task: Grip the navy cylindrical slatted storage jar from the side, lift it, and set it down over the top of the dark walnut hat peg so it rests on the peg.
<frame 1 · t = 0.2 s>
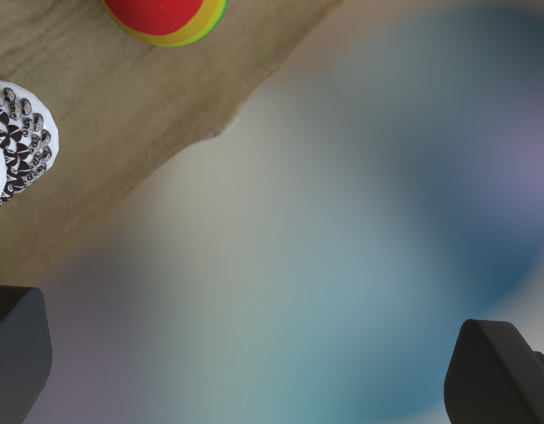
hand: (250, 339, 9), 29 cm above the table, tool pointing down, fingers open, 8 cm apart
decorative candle: (7, 131, 37), on the table
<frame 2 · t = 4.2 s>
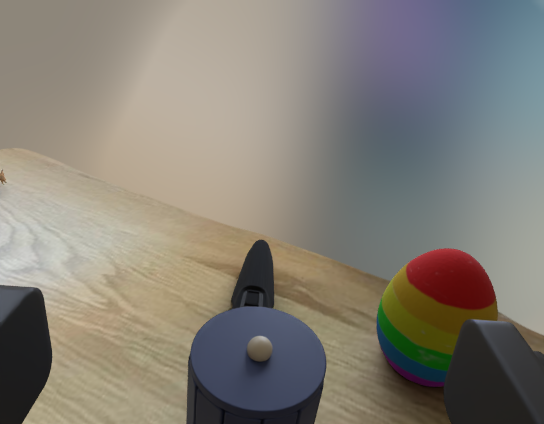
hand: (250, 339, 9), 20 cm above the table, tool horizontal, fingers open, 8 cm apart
electric trimmer: (247, 322, 38), on the table
decorative egg: (419, 360, 36), on the table
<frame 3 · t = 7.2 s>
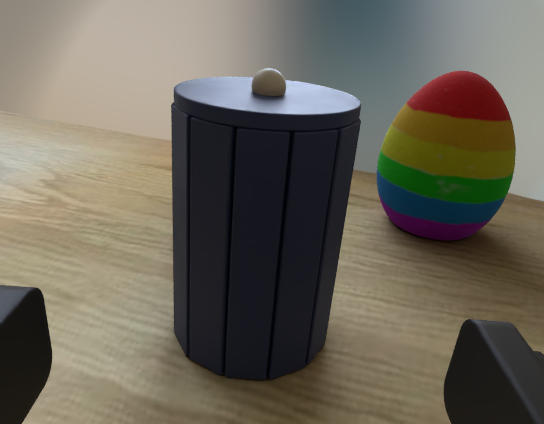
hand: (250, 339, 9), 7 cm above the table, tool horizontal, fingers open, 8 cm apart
slatted storage jar: (250, 324, 20), on the table
decorative egg: (428, 225, 31), on the table
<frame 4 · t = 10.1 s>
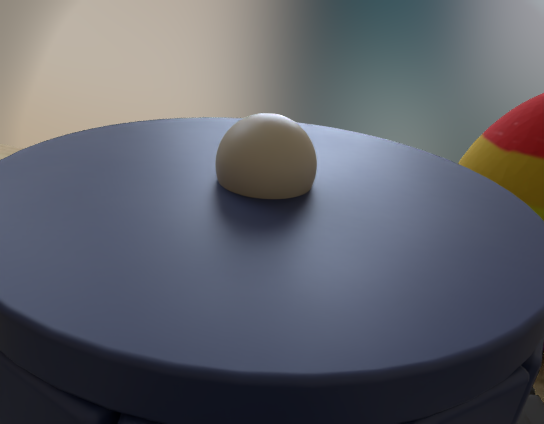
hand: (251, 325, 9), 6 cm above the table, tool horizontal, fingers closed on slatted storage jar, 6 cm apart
decorative egg: (507, 314, 21), on the table
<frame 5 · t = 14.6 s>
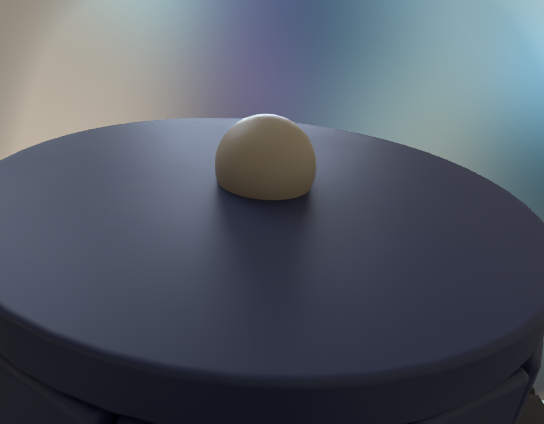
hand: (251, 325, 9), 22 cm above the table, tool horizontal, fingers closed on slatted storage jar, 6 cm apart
when the fingers open (9 cm above the table, at t = 19.3 s): slatted storage jar stays where it is, resting on hat peg.
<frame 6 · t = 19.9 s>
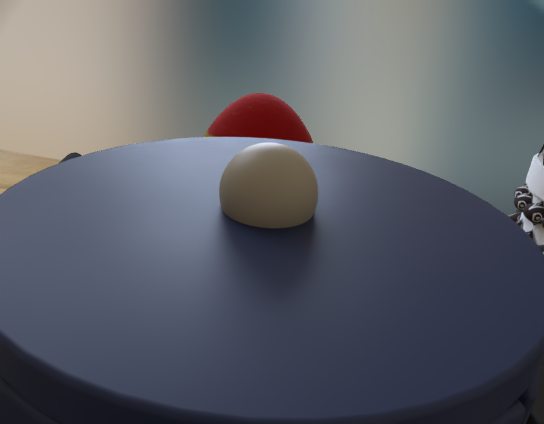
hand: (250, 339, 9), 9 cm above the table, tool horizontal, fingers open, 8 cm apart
decorative egg: (251, 249, 30), on the table
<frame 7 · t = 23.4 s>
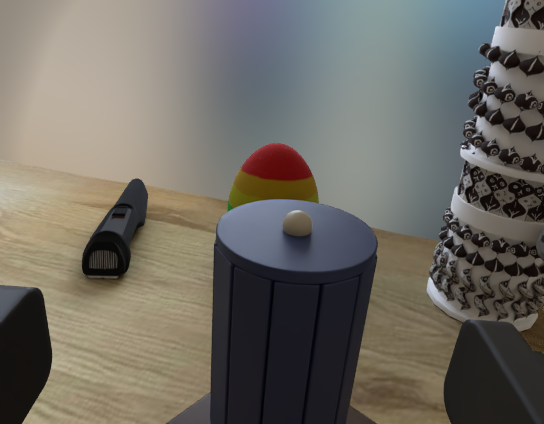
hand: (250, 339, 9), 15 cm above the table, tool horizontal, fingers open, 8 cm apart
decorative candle: (479, 301, 38), on the table
slatted storage jar: (277, 413, 22), point 2 cm above the table, touching hat peg
electric trimmer: (121, 237, 43), on the table
decorative egg: (269, 249, 43), on the table
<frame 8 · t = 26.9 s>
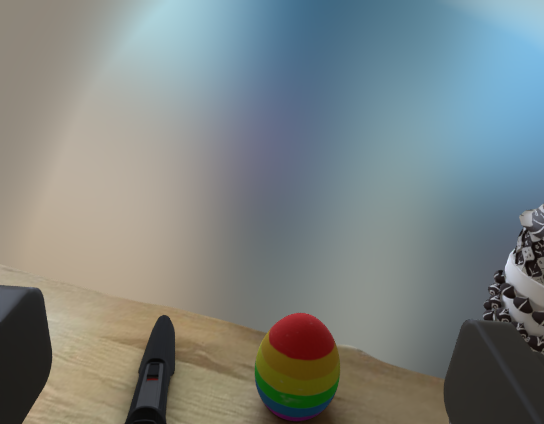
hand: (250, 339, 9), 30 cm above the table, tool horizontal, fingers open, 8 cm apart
electric trimmer: (153, 389, 46), on the table
decorative egg: (292, 400, 46), on the table
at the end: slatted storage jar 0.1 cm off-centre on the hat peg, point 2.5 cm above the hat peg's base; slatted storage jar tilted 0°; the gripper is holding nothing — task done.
